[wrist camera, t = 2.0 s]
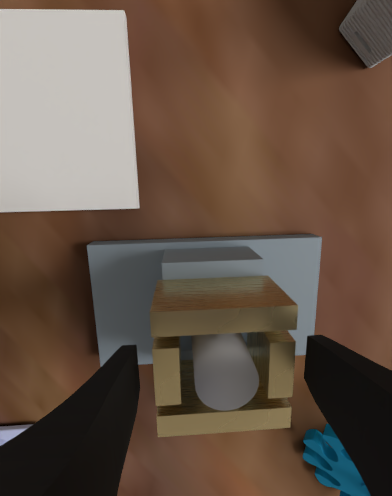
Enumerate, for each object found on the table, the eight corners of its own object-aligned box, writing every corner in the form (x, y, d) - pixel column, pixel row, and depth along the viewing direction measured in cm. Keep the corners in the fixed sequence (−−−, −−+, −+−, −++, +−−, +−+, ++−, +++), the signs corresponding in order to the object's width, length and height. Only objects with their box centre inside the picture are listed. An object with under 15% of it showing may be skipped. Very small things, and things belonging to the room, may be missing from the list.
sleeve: (163, 377, 14) (158, 437, 11) (157, 280, 13) (149, 312, 10) (264, 371, 15) (290, 427, 11) (268, 275, 13) (298, 305, 10)
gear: (285, 420, 19) (504, 518, 12) (312, 356, 22) (488, 403, 16) (312, 505, 23) (488, 614, 16) (331, 438, 26) (479, 504, 20)
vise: (110, 399, 19) (61, 549, 11) (93, 241, 17) (13, 290, 9) (301, 387, 20) (381, 520, 12) (312, 233, 17) (424, 272, 9)
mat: (-31, 212, 16) (-39, 213, 15) (-72, 15, 14) (-83, 8, 13) (139, 207, 16) (138, 208, 16) (126, 17, 14) (124, 10, 14)
